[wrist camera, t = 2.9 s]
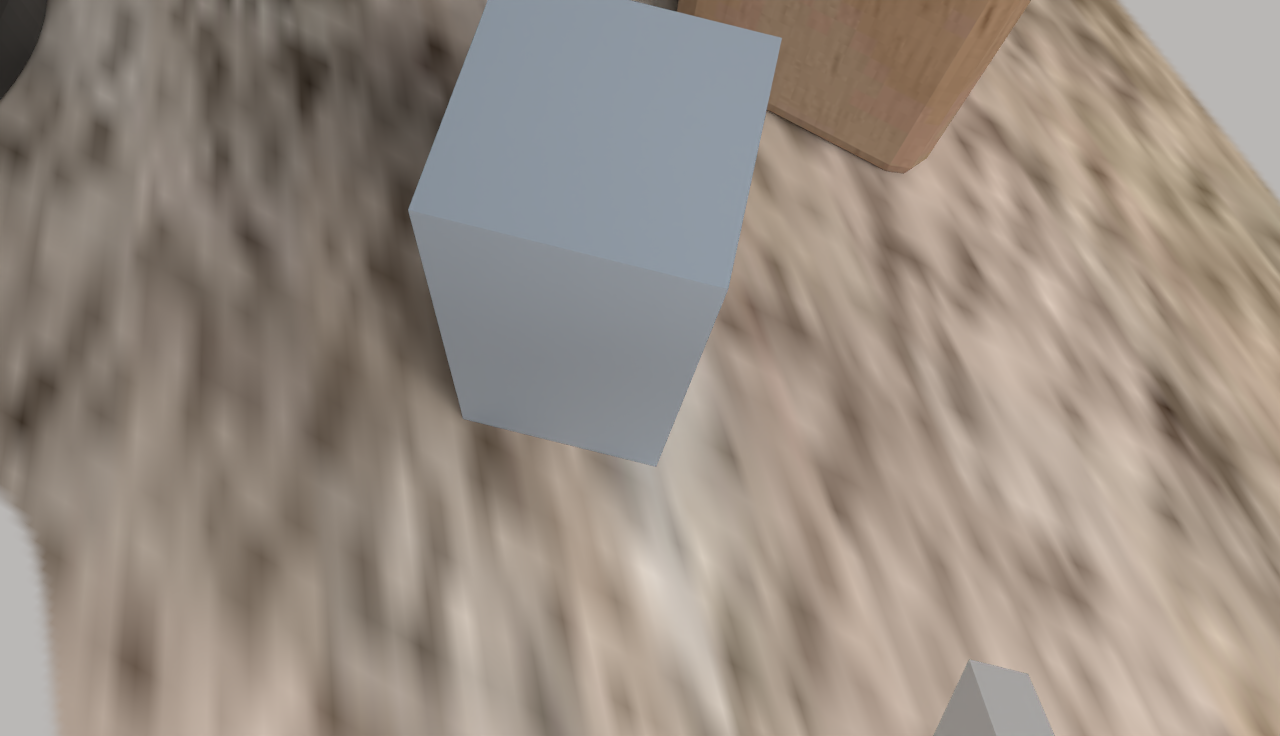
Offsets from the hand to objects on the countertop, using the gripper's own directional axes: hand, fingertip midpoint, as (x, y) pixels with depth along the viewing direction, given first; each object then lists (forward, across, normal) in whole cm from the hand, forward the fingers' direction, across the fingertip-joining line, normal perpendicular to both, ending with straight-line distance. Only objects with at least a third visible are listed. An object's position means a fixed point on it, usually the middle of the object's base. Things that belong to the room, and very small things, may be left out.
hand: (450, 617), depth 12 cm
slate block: (+17, 0, -3) cm, 17 cm away
